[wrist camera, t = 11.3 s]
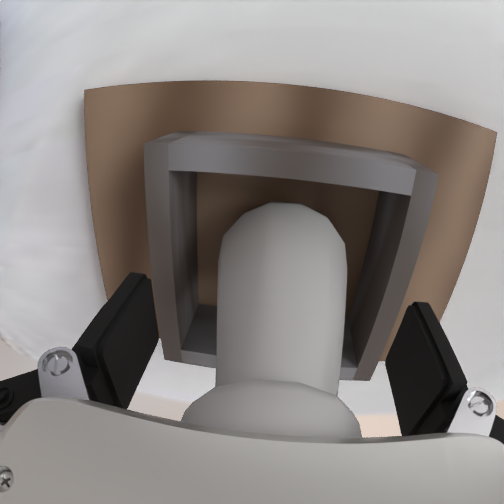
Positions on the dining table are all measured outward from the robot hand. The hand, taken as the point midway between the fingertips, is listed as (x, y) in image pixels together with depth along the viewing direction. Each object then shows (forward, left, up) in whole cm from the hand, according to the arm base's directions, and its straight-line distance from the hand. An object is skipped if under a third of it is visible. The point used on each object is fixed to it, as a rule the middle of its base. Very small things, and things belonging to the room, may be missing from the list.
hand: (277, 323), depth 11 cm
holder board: (0, 0, -8) cm, 8 cm away
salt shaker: (0, 0, -6) cm, 7 cm away
